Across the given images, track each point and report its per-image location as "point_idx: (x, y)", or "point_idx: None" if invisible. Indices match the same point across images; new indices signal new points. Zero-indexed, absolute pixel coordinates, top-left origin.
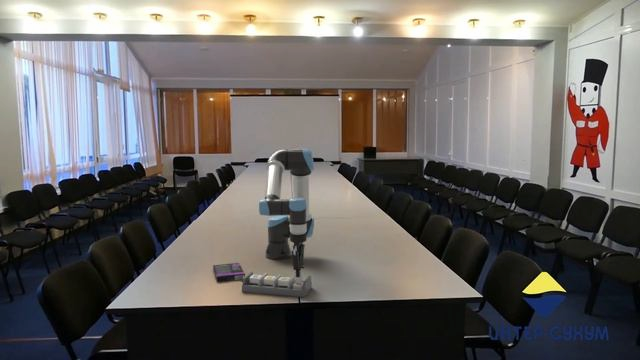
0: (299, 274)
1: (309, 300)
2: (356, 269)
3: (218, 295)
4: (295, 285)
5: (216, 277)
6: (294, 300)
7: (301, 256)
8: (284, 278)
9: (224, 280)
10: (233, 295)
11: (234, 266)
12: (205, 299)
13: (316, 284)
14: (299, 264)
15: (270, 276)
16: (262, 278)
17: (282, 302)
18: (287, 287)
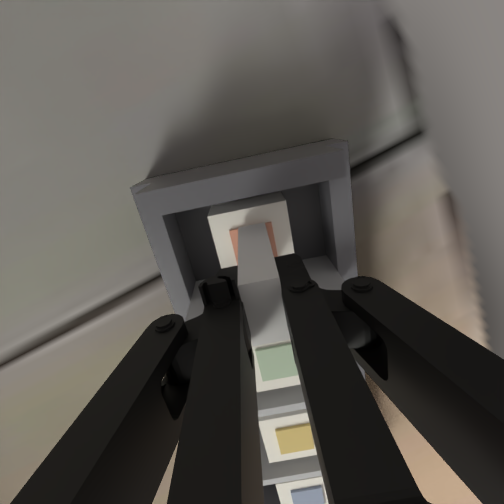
0: (282, 266)
1: (373, 76)
2: None
3: (424, 490)
4: (293, 251)
5: None
6: (400, 179)
7: (233, 460)
8: (280, 360)
9: None
10: (410, 453)
11: None
12: (471, 500)
13: (68, 176)
14: (338, 331)
15: (281, 443)
16: (314, 459)
17: (446, 231)
18: None
